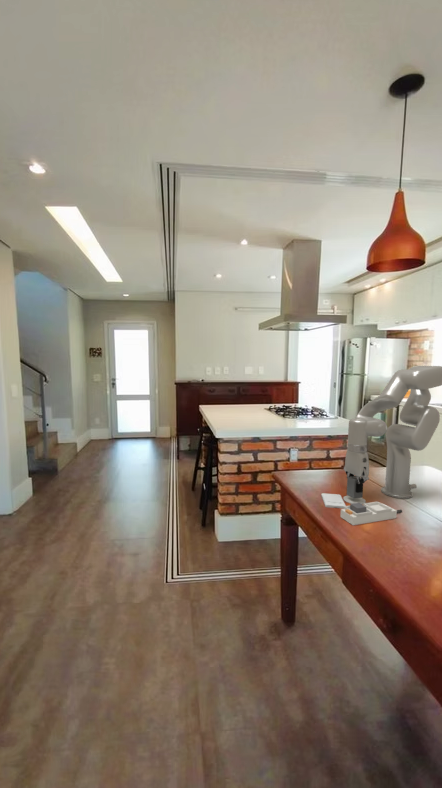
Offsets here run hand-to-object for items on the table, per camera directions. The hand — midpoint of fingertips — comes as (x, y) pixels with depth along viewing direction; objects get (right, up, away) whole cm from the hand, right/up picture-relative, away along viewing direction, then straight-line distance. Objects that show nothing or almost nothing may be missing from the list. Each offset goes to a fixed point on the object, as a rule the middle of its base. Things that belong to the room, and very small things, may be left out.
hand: (355, 489), depth 144 cm
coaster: (0, -5, 0) cm, 5 cm away
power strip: (+2, -6, -15) cm, 16 cm away
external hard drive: (-10, -6, -1) cm, 11 cm away
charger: (0, -3, 0) cm, 3 cm away
